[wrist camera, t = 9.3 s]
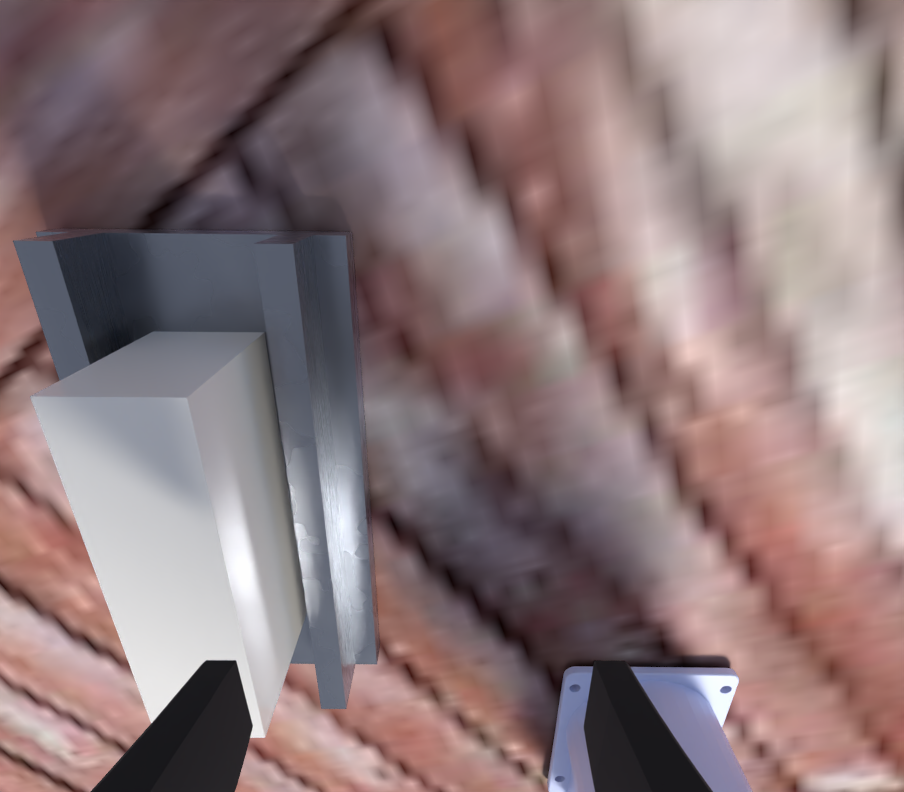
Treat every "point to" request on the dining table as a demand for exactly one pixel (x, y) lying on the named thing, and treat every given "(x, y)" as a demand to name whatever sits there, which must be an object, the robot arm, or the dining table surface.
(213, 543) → the grey metal bar
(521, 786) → the dining table surface
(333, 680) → the grey u-channel tray
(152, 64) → the dining table surface
